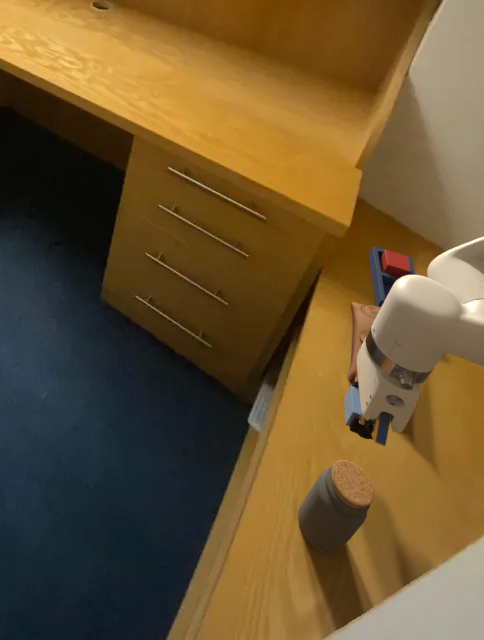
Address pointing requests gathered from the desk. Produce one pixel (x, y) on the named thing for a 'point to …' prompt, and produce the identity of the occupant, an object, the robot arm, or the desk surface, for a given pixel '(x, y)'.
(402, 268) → the red block
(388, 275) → the tray
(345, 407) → the blue block
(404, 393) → the robot arm
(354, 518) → the bottle
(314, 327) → the desk surface
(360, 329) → the sunglasses case
